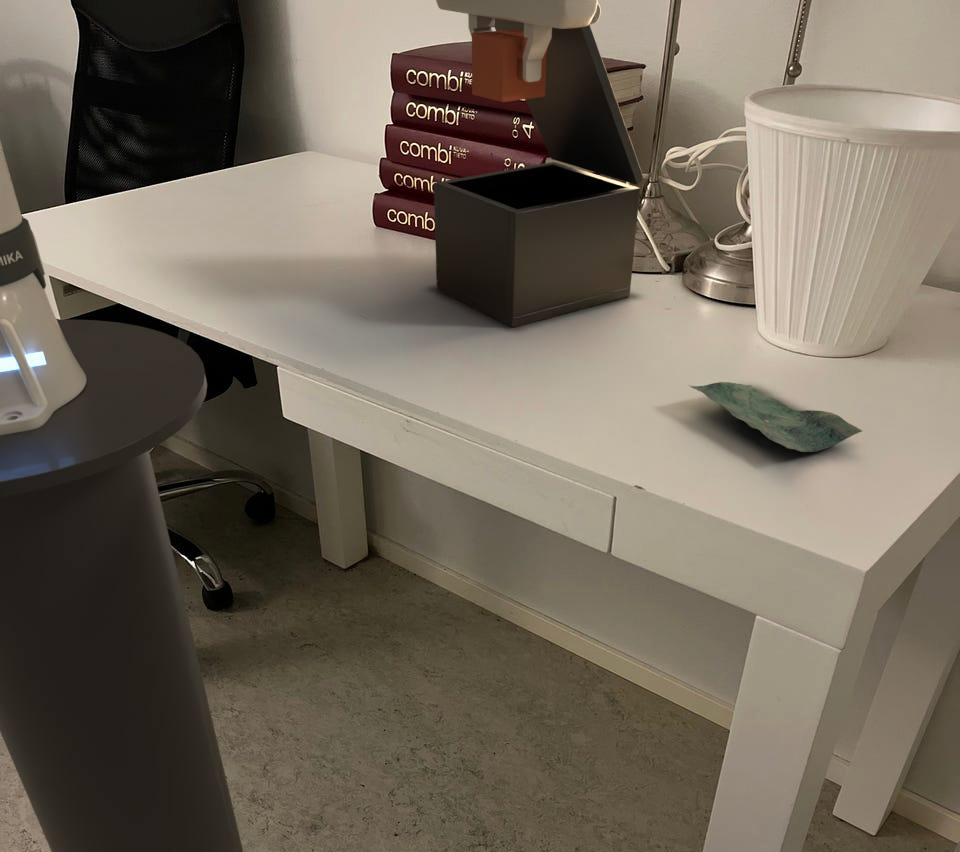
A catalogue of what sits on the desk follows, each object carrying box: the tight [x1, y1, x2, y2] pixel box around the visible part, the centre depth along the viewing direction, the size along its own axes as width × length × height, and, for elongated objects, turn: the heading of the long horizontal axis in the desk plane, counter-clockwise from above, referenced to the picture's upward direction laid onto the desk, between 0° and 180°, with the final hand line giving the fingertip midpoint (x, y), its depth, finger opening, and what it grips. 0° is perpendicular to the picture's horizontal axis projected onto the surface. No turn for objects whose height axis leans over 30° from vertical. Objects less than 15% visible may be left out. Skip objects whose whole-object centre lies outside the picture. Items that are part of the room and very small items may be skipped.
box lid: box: [494, 3, 645, 186], centre depth 96 cm, size 17×14×5 cm
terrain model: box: [687, 381, 863, 453], centre depth 80 cm, size 13×8×2 cm, turn 29°
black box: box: [433, 161, 641, 328], centre depth 102 cm, size 16×14×11 cm
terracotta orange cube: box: [471, 29, 547, 103], centre depth 90 cm, size 5×5×5 cm
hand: (508, 76), depth 91 cm, fingers closed on terracotta orange cube, 5 cm apart
